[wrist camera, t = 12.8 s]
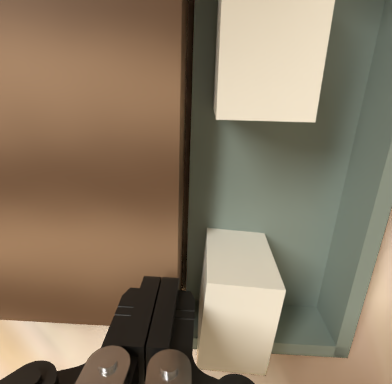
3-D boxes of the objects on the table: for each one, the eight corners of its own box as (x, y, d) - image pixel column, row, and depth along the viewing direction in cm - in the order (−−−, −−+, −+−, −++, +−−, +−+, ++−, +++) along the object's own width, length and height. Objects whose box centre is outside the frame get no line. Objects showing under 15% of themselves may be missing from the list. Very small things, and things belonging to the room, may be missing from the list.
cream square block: (206, 282, 11) (286, 290, 11) (206, 227, 15) (264, 233, 15) (196, 368, 13) (265, 375, 13) (199, 297, 17) (251, 302, 17)
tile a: (224, -63, 7) (344, -62, 7) (218, -10, 12) (294, -9, 12) (215, 119, 9) (315, 122, 9) (213, 108, 13) (280, 109, 13)
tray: (197, -71, 11) (193, -125, 8) (412, -65, 11) (486, -119, 8) (186, 303, 18) (181, 348, 15) (323, 310, 17) (347, 357, 14)
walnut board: (-57, -47, 12) (-138, -87, 9) (188, -40, 12) (182, -78, 9) (14, 280, 18) (-23, 318, 15) (181, 289, 17) (176, 329, 14)
